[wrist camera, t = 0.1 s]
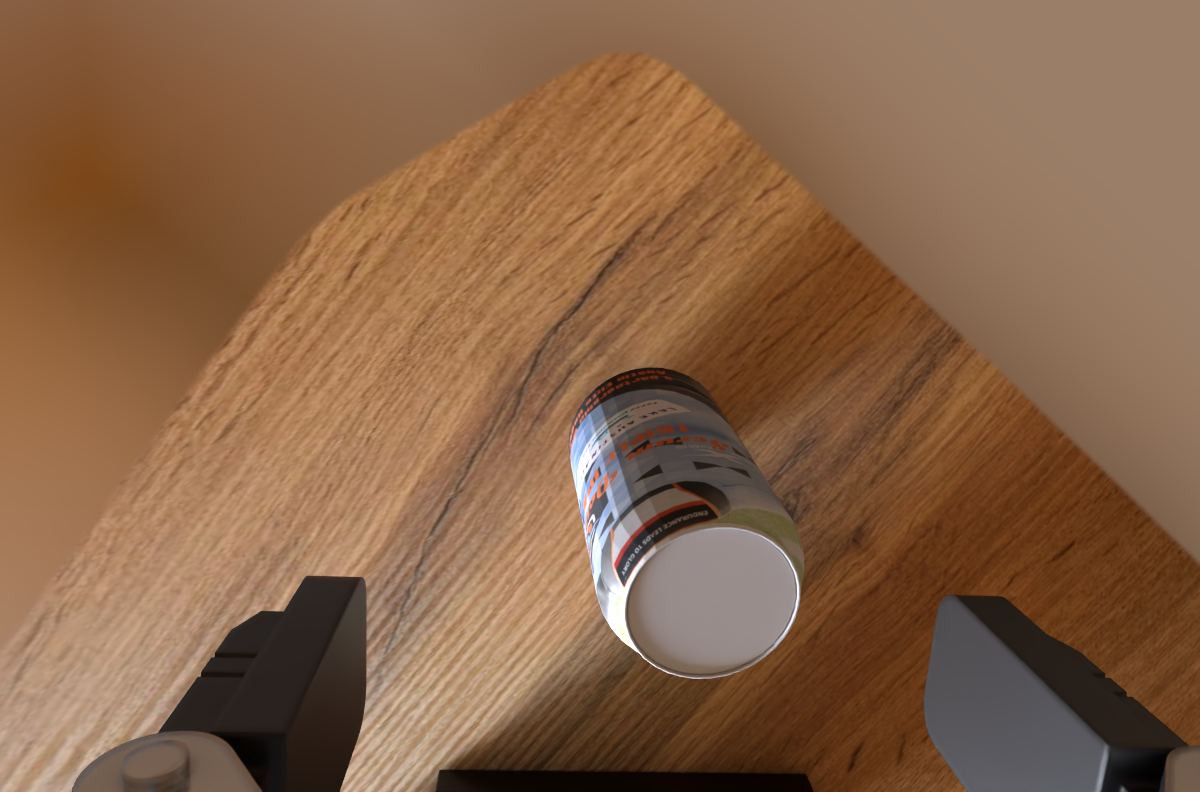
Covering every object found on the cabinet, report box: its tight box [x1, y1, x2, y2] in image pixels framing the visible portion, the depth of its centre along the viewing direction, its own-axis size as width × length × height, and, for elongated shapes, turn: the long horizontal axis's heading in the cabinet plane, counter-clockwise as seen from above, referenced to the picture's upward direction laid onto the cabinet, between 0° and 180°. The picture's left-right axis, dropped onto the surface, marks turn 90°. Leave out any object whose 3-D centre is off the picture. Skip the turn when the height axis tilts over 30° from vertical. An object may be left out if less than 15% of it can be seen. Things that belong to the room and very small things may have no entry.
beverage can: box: [569, 368, 804, 679], centre depth 29 cm, size 6×7×12 cm
